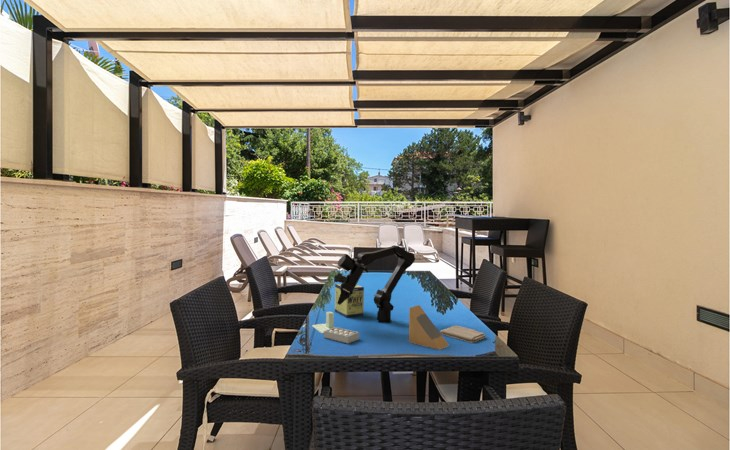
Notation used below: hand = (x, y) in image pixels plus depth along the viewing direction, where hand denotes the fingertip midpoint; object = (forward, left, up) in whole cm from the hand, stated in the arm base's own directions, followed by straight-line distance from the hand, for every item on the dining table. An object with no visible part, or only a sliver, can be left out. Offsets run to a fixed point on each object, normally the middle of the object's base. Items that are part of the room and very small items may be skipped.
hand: (338, 304), depth 187 cm
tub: (-4, +18, -11) cm, 22 cm away
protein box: (-2, -26, -11) cm, 28 cm away
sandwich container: (-42, +20, -11) cm, 48 cm away
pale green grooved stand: (+6, +4, -11) cm, 13 cm away
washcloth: (-58, +7, -12) cm, 60 cm away
